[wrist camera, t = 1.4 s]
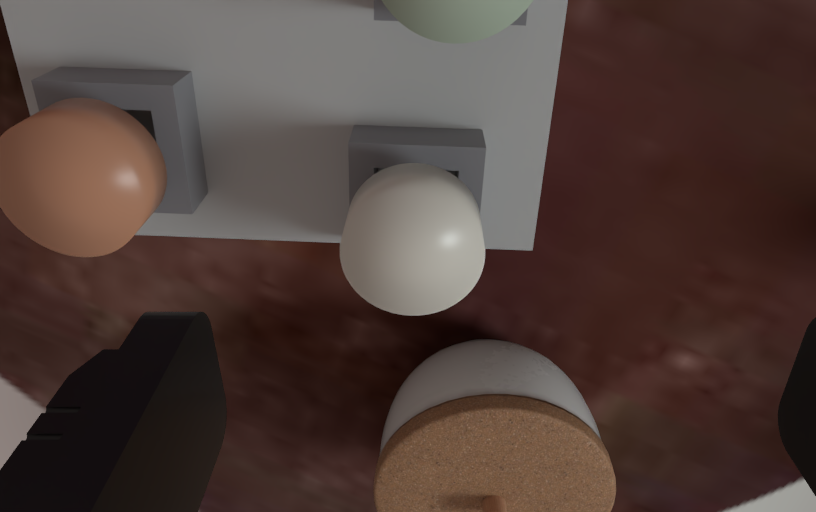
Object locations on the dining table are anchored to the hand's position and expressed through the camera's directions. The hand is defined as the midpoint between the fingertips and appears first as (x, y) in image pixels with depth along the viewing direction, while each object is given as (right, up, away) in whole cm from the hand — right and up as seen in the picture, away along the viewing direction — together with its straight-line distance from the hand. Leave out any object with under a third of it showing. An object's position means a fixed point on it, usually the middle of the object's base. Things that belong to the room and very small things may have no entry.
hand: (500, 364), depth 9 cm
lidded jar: (+3, -5, +27) cm, 27 cm away
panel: (-6, +10, +18) cm, 21 cm away
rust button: (-13, +6, +17) cm, 22 cm away
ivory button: (-1, +4, +18) cm, 19 cm away
